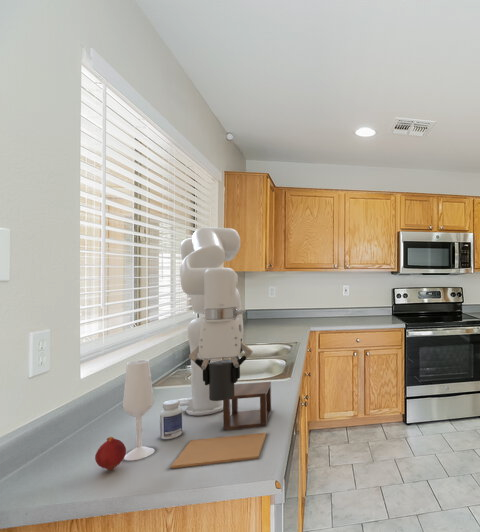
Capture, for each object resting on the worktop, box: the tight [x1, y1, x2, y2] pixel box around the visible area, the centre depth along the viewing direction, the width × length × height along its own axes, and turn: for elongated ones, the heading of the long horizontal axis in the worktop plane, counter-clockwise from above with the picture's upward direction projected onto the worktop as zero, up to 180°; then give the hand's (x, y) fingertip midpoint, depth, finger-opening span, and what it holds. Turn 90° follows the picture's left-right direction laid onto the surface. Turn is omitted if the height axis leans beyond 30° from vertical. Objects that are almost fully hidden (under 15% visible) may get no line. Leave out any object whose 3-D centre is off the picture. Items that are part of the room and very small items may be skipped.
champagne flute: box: [122, 359, 155, 462], centre depth 97 cm, size 7×7×24 cm
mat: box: [170, 432, 268, 469], centre depth 98 cm, size 20×14×1 cm
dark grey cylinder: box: [209, 359, 235, 401], centre depth 98 cm, size 6×6×9 cm
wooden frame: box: [222, 381, 272, 431], centre depth 118 cm, size 12×12×10 cm
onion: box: [94, 436, 127, 471], centre depth 90 cm, size 6×6×8 cm
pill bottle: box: [159, 399, 183, 440], centre depth 108 cm, size 5×5×10 cm
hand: (221, 382), depth 98 cm, fingers closed on dark grey cylinder, 6 cm apart
